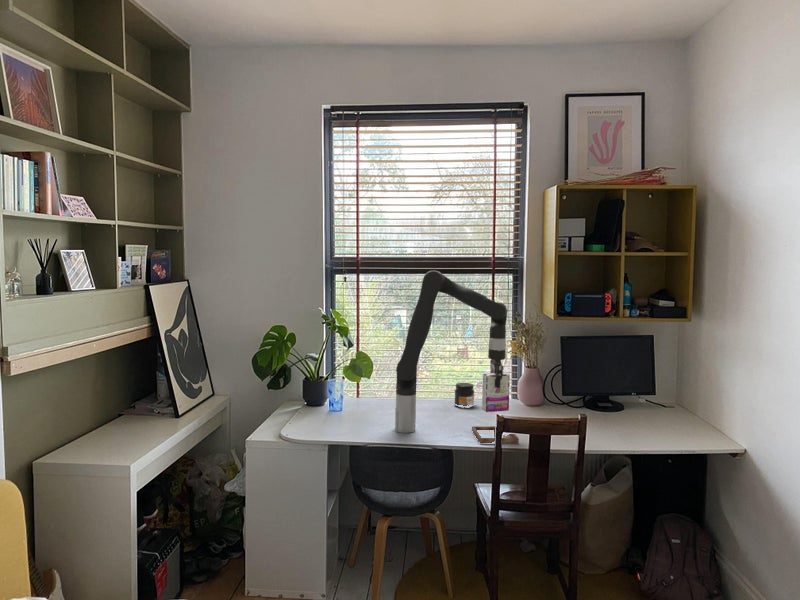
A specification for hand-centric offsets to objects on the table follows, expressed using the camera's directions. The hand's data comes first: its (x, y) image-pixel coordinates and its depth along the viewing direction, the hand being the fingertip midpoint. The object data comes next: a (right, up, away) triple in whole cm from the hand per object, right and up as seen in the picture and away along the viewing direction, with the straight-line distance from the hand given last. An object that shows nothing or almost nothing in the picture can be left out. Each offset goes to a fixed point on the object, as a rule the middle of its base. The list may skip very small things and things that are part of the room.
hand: (495, 385), depth 243 cm
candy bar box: (0, -11, +1) cm, 11 cm away
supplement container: (-8, -20, +53) cm, 57 cm away
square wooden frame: (0, -23, +2) cm, 24 cm away
